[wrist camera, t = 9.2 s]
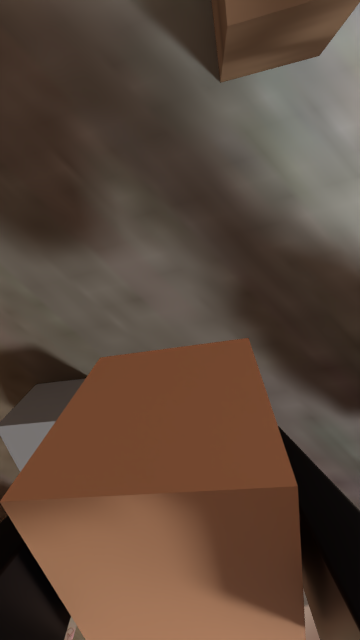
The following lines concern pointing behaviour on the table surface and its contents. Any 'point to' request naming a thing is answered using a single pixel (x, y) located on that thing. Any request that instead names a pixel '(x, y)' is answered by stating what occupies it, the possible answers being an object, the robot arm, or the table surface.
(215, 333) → the table surface
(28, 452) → the slate cube
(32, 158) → the table surface
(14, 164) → the table surface
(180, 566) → the terracotta cube
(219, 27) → the walnut cube
